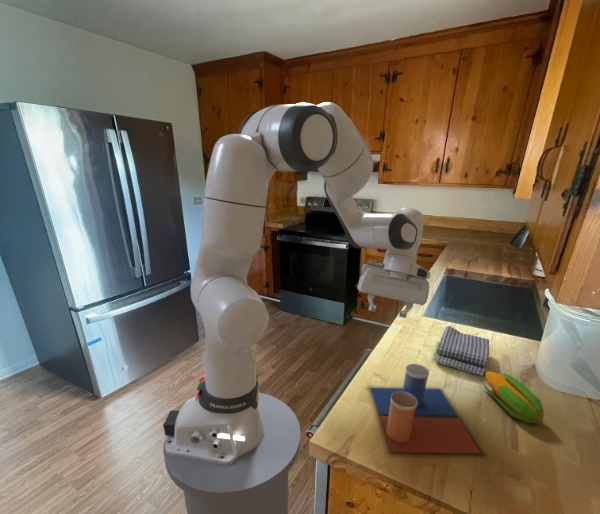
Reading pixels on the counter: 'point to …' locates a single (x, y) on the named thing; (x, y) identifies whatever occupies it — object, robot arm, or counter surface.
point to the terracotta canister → (401, 416)
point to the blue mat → (431, 406)
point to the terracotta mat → (434, 437)
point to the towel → (463, 351)
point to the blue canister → (416, 381)
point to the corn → (515, 397)
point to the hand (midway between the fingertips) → (387, 314)
